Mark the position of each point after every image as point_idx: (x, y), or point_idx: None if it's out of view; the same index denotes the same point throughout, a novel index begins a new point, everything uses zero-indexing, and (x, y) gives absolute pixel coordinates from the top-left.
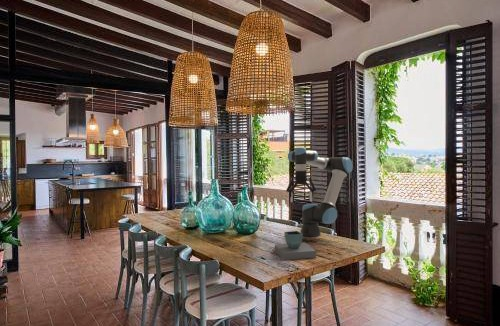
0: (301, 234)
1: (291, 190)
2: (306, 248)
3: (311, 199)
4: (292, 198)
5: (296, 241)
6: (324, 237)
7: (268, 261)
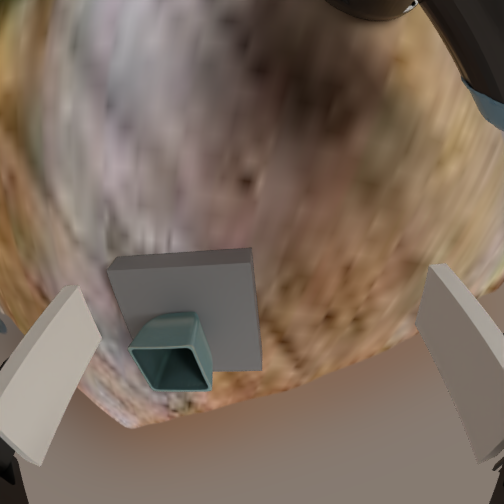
0: (206, 389)
1: (9, 491)
2: (234, 344)
3: (433, 347)
4: (75, 382)
5: (188, 366)
6: (421, 52)
7: (112, 353)
